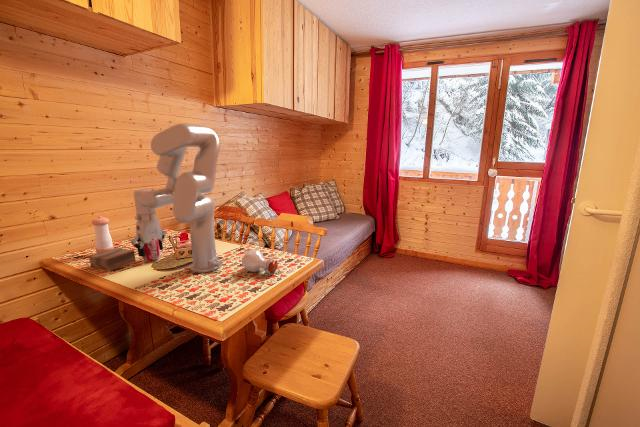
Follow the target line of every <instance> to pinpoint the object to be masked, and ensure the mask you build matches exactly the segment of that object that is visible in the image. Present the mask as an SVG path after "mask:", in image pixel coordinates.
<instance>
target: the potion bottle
mask: <svg viewBox="0 0 640 427" xmlns="http://www.w3.org/2000/svg"><path fill="white" fill-rule="evenodd" d="M241 261H242V262H241V263H242V267H243V268H244V270H245V271H248V272H250V273H256V272H259V271H260V270H263V271H264V272H265V273H267V274H271V275H274V274H276V271H277V269H278V268H279V266H278V260H277V259H276V260H274V257H271V258H265V255H264V254H263V252H262V251H261V250H258V249H249V250H248V251H246V252H245V253H244V254H243V257H242V258H241Z"/></svg>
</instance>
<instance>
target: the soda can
mask: <svg viewBox="0 0 640 427" xmlns="http://www.w3.org/2000/svg"><path fill="white" fill-rule="evenodd" d="M154 237H155V236H154ZM143 248H144V252H145V257H142V258H143V261H144V262H146V263H148V264H149V263H156V262H158V261H159V260H160V259H161V250H160V248H159V241H158V239H157V238H153V239H152V240H151V241H150V242H149V243H146V244H144V246H143Z"/></svg>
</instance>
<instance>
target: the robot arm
mask: <svg viewBox="0 0 640 427" xmlns="http://www.w3.org/2000/svg"><path fill="white" fill-rule="evenodd" d="M194 147H195V148H199V150H198V152H197V153H196V155H195V157H194V162H193V168H192V171H186V172H183V173H181V174H180V175H179V171H180V170H181V167H182V163H183V161H184V159H185V155H186V153H187V149H188V148H194ZM150 148H151V152H152V153H153V154H155V155H156V156H158V157H159V158H158V161H157V164H156V170H157V171H158V172H159V173H161V174H162V175H164V176H167V180H166V185H165V187H164V188H161V189H160V188H159V189H155V190H154V189H153V190H152V189H148V188H145V189H144V188H143V189H136V190H134V192H133V199H134V200H133V201H134V207H135V213H136V216H135V217H134V220H135V236H134V237H133V238H132V239H131V240H130V243H131V244H132V246H133V247H134V248H136V249H137V253H138V254H137V255H138V257H142V258H143V257H145V252H144V248H143V246H144V244H146V243H149V242H150V241H151V240H152V239H153V238H157V239H158V241H159V248H160V251H162V250H164V244H163V243H164V238H165V237H166V236H165V235H166V234H167V233H166V232H167V231H166V230H163V229H162V227H161V223H160V220H159V218H158V217H157V213H156V209H157V208H160V207H161V208H162V207H165V206H169V205H172V213H173V216H174V218H175V220H176V221H177V222H179V223H180V224H188V223H190V225H189V233H190V234H189V235H190V236H189V237H190V242H191V244H190V245H191V255H192V263H191V264H190V265H189V271H191V272H193V273H198V274H199V273H200V274H201V273H209V272H212V271H215V270H218V269H219V268H221V267H222V265H223V264H224V261H223V260H220V259H219V256H217V253H216V249H217V248H216V239H215V238H216V237H215V225H214V222H215V221H214V218H215V210H216V209H215V202H214V201H213V200H212V198H211V197H209V196H208V195H205V194H209V193H210V192H212V191H213V189H214V186H215V182H216V181H215V180H216V173H217V166H218V160H219V159H218V158H219V155H220V150H221V142H220V138H219V136H218V134H217V133H216V132H215V131H214V130H213V129H212V128H210V127H208V126H206V125H202V124H201V125H200V124H192V123H191V124H190V123H178V124H174V125H172V126H169V128H166V129H164V130H162V131H160V132H158V133H157V134H154V136H153V138H151V141H150ZM154 236H155V237H154Z"/></svg>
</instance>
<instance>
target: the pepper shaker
mask: <svg viewBox="0 0 640 427" xmlns="http://www.w3.org/2000/svg"><path fill="white" fill-rule="evenodd" d="M109 223H110V219H109V218H108V217H105V216H102V215H98V216H97V217H95V218H94V219H92V220H91V225H93V228H94V233H95V237H94V242H95V247H96V248H95V254H98V253H101V252H104V251H107V250H111V249H114V248H115V246H114V244H113V239H112V237H111V234H110V228H109Z"/></svg>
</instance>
